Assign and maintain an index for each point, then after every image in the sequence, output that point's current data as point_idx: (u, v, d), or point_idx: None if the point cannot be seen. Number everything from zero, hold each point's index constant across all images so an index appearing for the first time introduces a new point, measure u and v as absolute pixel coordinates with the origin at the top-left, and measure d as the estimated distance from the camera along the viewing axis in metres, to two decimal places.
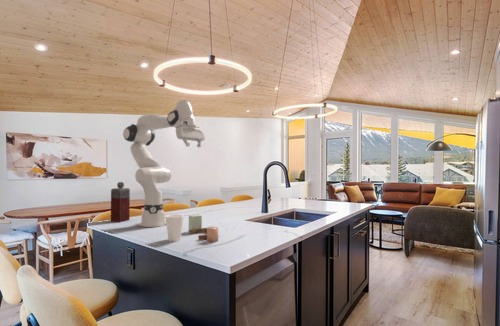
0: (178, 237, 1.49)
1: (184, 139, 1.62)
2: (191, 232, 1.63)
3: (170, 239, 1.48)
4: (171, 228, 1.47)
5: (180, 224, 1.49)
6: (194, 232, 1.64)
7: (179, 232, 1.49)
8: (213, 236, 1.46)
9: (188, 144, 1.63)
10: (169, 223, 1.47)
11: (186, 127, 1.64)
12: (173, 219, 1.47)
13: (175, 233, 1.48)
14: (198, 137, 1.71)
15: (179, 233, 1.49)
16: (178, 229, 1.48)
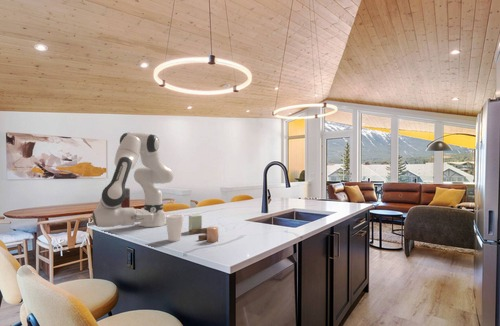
0: (178, 237, 1.49)
1: None
2: (191, 232, 1.63)
3: (170, 239, 1.48)
4: (171, 228, 1.47)
5: (180, 224, 1.49)
6: (194, 232, 1.64)
7: (179, 232, 1.49)
8: (213, 236, 1.46)
9: None
10: (169, 223, 1.47)
11: None
12: (173, 219, 1.47)
13: (175, 233, 1.48)
14: None
15: (179, 233, 1.49)
16: (178, 229, 1.48)
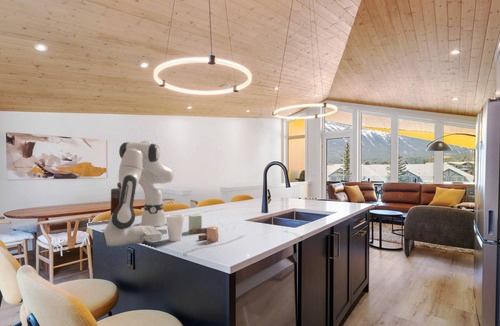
0: (179, 237, 1.49)
1: None
2: (191, 232, 1.63)
3: (171, 239, 1.48)
4: (172, 228, 1.47)
5: (181, 224, 1.49)
6: (194, 232, 1.64)
7: (180, 232, 1.49)
8: (213, 236, 1.46)
9: None
10: (170, 223, 1.47)
11: None
12: (174, 219, 1.47)
13: (176, 233, 1.48)
14: None
15: (180, 233, 1.49)
16: (179, 229, 1.48)
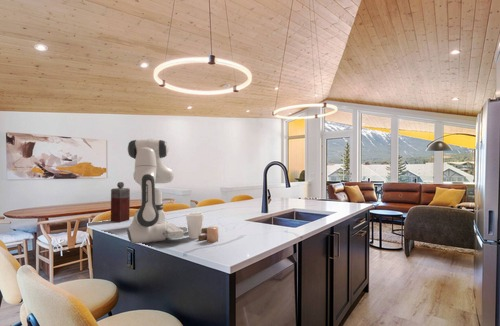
0: None
1: None
2: None
3: (190, 236, 1.54)
4: (191, 226, 1.52)
5: (200, 222, 1.54)
6: None
7: (199, 230, 1.54)
8: (213, 236, 1.46)
9: None
10: (189, 221, 1.53)
11: None
12: (193, 217, 1.52)
13: (195, 231, 1.53)
14: None
15: (199, 231, 1.54)
16: (198, 227, 1.53)
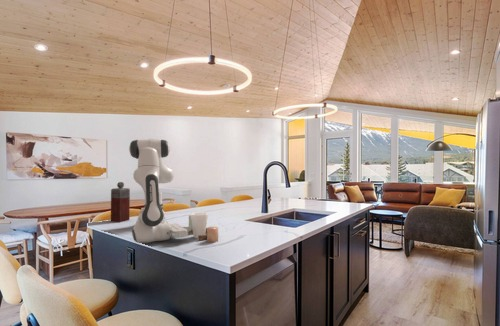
0: (202, 234, 1.55)
1: None
2: (191, 232, 1.63)
3: (195, 236, 1.55)
4: (196, 225, 1.54)
5: (204, 222, 1.55)
6: None
7: (203, 230, 1.55)
8: (213, 236, 1.46)
9: None
10: (194, 221, 1.54)
11: None
12: (197, 217, 1.53)
13: (199, 230, 1.54)
14: None
15: (203, 230, 1.55)
16: (202, 227, 1.54)
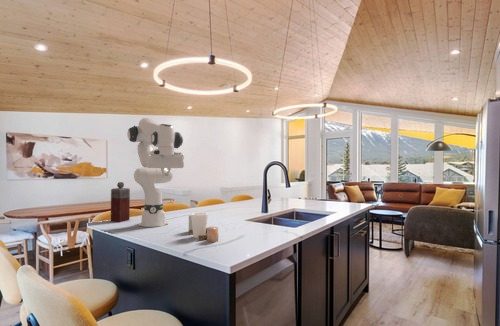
0: (202, 234, 1.55)
1: (161, 169, 1.58)
2: (191, 232, 1.63)
3: (195, 236, 1.55)
4: (196, 225, 1.54)
5: (204, 222, 1.55)
6: None
7: (203, 230, 1.55)
8: (213, 236, 1.46)
9: (164, 175, 1.58)
10: (194, 221, 1.54)
11: (158, 157, 1.55)
12: (197, 217, 1.53)
13: (199, 230, 1.54)
14: (173, 166, 1.60)
15: (203, 230, 1.55)
16: (202, 227, 1.54)
